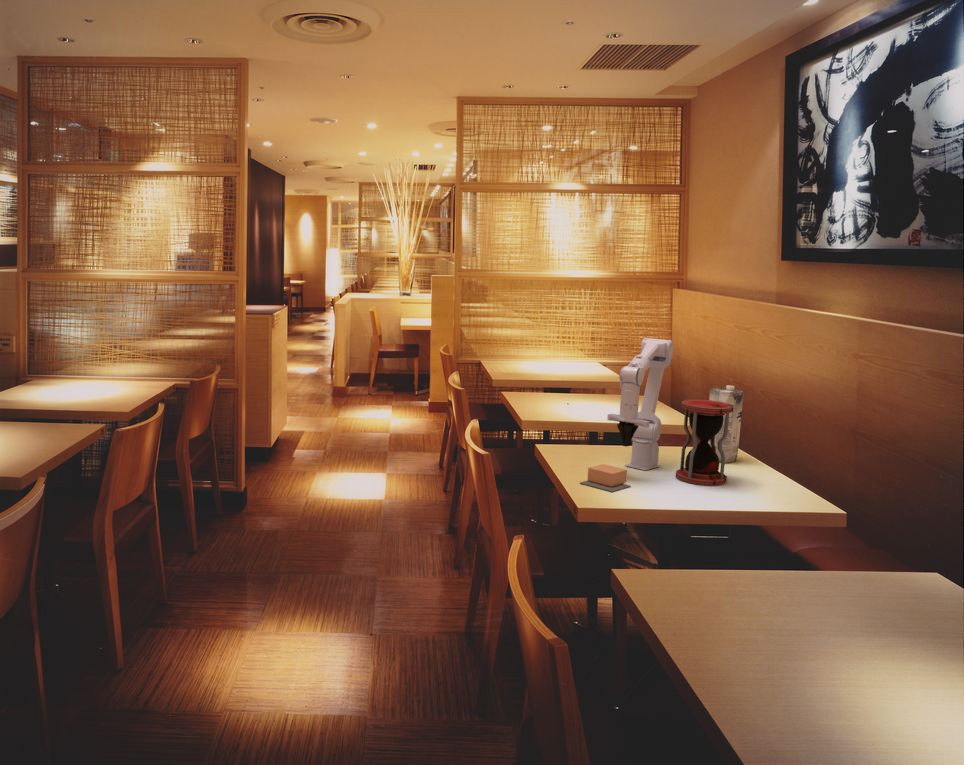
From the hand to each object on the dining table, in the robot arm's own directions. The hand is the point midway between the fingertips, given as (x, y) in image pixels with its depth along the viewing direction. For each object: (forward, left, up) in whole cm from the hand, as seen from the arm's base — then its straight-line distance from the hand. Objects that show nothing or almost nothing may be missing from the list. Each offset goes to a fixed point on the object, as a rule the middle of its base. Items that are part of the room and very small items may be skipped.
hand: (626, 445), depth 270 cm
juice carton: (-50, +8, -11) cm, 52 cm away
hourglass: (-19, +17, -11) cm, 28 cm away
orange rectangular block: (+7, +1, -8) cm, 10 cm away
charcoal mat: (+13, +2, -10) cm, 17 cm away
